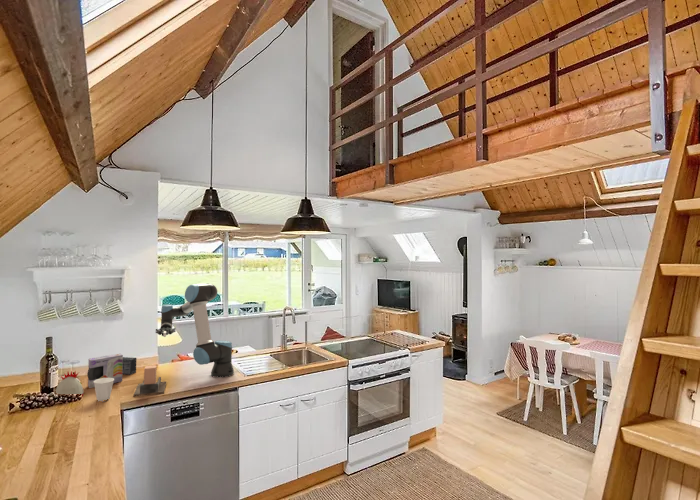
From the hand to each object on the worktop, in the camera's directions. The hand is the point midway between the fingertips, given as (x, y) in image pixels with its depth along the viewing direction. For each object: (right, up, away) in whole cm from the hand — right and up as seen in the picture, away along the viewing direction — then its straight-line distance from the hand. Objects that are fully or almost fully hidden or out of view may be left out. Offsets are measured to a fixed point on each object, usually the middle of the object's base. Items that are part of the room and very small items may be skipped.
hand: (164, 334), depth 256 cm
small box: (-32, -30, +13) cm, 46 cm away
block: (+2, -28, -22) cm, 36 cm away
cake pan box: (-33, -29, -10) cm, 45 cm away
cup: (-18, -29, -35) cm, 49 cm away
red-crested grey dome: (-39, -29, -33) cm, 59 cm away
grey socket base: (0, -30, -17) cm, 34 cm away
